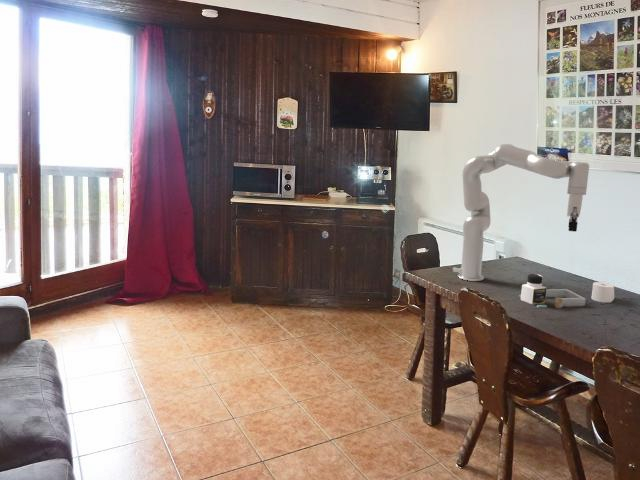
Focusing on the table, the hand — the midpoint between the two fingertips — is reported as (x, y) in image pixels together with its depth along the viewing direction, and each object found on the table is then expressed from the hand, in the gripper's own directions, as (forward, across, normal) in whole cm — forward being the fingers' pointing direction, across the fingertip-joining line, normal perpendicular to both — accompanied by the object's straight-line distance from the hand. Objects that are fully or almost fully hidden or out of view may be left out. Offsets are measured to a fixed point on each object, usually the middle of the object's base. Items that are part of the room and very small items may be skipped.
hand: (572, 229), depth 246 cm
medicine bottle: (+30, +19, -13) cm, 38 cm away
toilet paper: (+30, 0, +17) cm, 34 cm away
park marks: (+30, +19, -13) cm, 38 cm away
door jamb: (+30, +16, -7) cm, 34 cm away
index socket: (+30, +12, -1) cm, 32 cm away
